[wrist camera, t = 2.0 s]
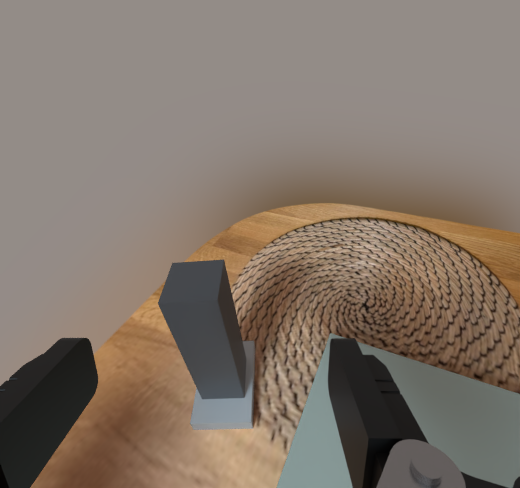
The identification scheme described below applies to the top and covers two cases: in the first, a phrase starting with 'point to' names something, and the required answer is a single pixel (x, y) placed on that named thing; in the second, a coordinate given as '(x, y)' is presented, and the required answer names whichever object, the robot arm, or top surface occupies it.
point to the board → (427, 416)
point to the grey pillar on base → (211, 344)
